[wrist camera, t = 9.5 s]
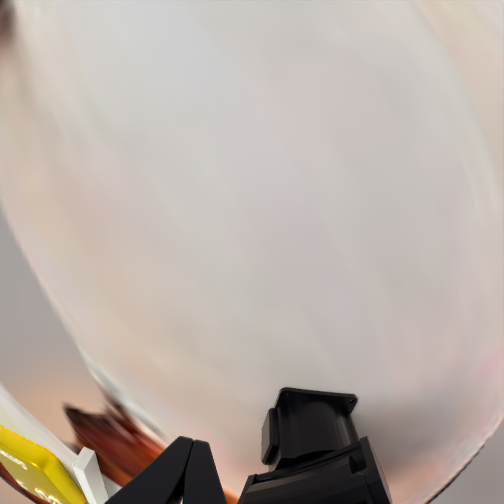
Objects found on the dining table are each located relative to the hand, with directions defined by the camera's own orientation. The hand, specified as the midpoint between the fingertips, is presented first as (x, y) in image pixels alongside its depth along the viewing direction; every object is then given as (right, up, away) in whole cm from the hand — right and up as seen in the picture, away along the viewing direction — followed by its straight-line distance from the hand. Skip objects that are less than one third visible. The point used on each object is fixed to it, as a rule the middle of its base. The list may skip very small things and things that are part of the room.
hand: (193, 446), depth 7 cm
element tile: (-33, -29, +21) cm, 48 cm away
